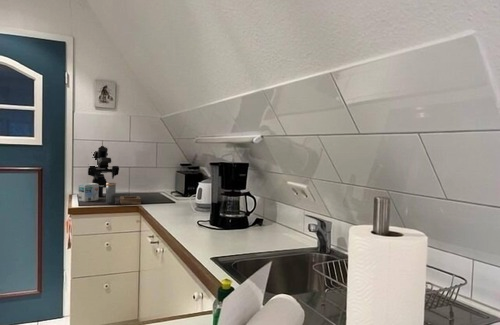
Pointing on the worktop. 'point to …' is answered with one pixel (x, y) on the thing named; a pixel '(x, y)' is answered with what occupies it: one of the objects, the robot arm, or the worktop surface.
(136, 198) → the holder
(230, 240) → the worktop surface
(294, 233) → the worktop surface
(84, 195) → the light bulb box
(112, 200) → the canister
